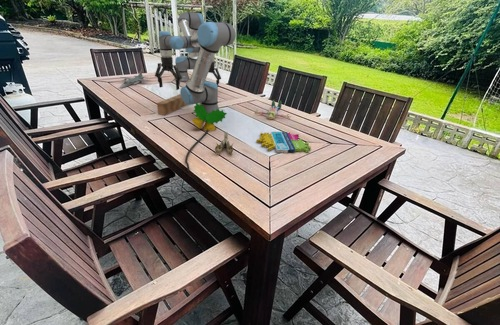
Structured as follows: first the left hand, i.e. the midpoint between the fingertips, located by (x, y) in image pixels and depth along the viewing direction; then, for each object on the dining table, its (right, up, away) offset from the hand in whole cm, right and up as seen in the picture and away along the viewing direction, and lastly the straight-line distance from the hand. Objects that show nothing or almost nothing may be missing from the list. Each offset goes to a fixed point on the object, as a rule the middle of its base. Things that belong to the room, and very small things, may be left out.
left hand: (210, 86), depth 238 cm
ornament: (+10, -48, -73) cm, 88 cm away
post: (-12, -20, -25) cm, 34 cm away
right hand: (-22, -16, -51) cm, 58 cm away
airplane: (-75, +6, +13) cm, 76 cm away
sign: (+54, -58, -85) cm, 117 cm away
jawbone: (+22, -64, -99) cm, 120 cm away
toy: (+54, -33, -40) cm, 75 cm away
